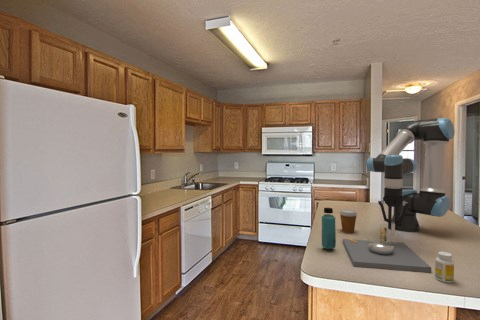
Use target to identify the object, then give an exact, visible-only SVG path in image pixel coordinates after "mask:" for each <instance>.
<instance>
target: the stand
mask: <svg viewBox="0 0 480 320" xmlns="http://www.w3.org/2000/svg"><path fill="white" fill-rule="evenodd" d="M369 241H371V240H369V239H366V240H365V239H353V238H352V239H351V238H342V245H343V247H344V249H345V252H346V253H347V255H348V257H349V259H350V262H351V264H352V266H353V267H358V268H359V267H360V268H372V269H379V270H380V269H381V270H383V269H385V270H393V271H406V272H418V273H419V272H420V273H432V267H431V266H430V265H429V264H428V263H427V262H426V261H425V260H424V259H422V257H420V256H419V255H418V254H417V253H416V252H415V251H414V250H413V249H411V248H410V247H409V246H408V245H407V244H406V243H405V242H403V241H402V242H401V241H386V242H389V243H392V244H393V245H394V253H393V254H391V255H381V254H376V253H373V252H371V251H370V250H369V249H368V242H369Z"/></svg>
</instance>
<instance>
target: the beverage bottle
mask: <svg viewBox="0 0 480 320" xmlns="http://www.w3.org/2000/svg"><path fill="white" fill-rule="evenodd" d="M323 213H325V214H323V215H322V216H321V247H322V248H325V249H328V250H332V249H336V247H337V245H336V244H337V243H336V242H337V237H336V235H337V234H336V229H337V228H336V217H335V216H334V215H333V213H334V209H333V208H332V207H324V208H323Z"/></svg>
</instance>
